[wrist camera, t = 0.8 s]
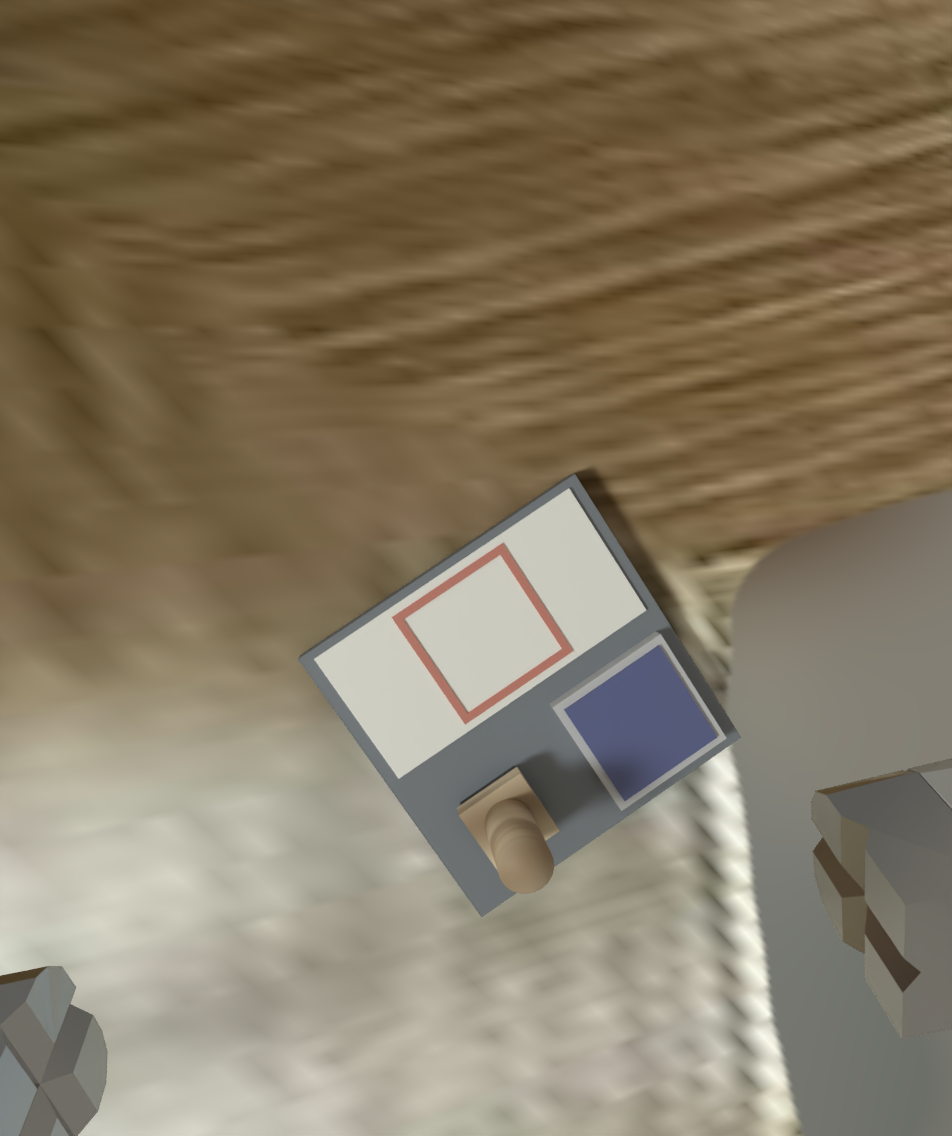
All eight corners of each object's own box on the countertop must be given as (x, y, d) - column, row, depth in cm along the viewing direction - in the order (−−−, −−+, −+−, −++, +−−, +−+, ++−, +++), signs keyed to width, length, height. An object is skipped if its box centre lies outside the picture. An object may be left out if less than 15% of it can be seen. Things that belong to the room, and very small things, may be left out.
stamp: (552, 816, 52) (582, 875, 45) (494, 857, 52) (514, 922, 44) (514, 761, 52) (538, 810, 44) (455, 801, 52) (468, 857, 44)
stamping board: (733, 731, 55) (749, 742, 52) (479, 907, 54) (483, 927, 51) (570, 474, 52) (579, 473, 49) (300, 655, 51) (296, 663, 49)
